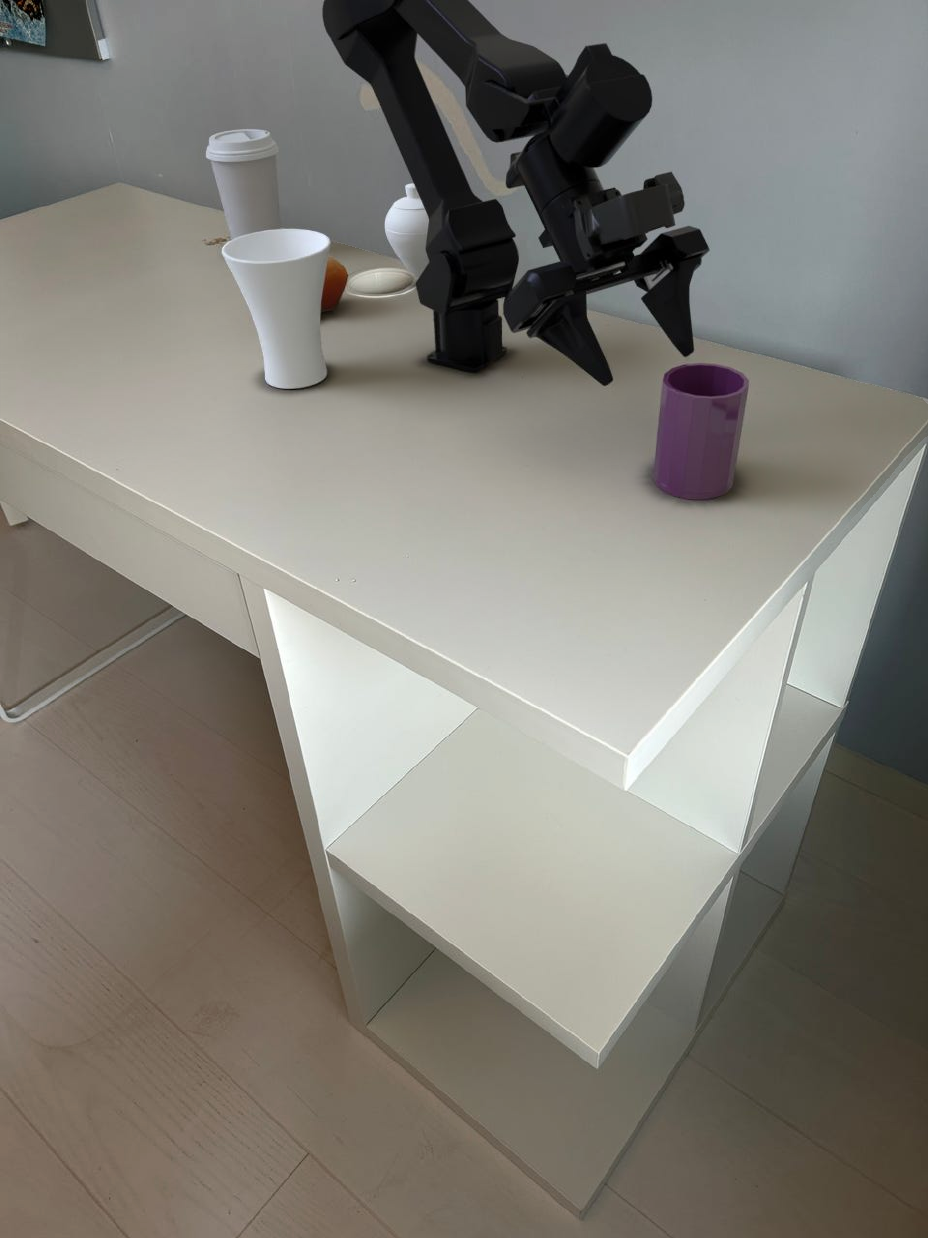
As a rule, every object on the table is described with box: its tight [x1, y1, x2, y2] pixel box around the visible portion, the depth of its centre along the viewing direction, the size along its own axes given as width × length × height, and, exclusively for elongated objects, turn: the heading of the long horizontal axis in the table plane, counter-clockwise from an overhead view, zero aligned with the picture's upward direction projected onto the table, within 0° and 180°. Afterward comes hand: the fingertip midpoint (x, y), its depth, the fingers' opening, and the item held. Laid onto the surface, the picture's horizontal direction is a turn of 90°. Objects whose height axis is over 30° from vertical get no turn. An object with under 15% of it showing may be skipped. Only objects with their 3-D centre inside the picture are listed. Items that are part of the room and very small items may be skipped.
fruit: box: [321, 256, 349, 313], centre depth 113 cm, size 8×8×8 cm
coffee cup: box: [205, 128, 282, 240], centre depth 129 cm, size 10×10×15 cm
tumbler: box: [652, 362, 750, 501], centre depth 78 cm, size 7×7×9 cm
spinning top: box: [384, 182, 429, 279], centre depth 117 cm, size 8×8×12 cm
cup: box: [221, 228, 332, 390], centre depth 96 cm, size 10×10×14 cm
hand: (650, 368), depth 80 cm, fingers open, 9 cm apart
